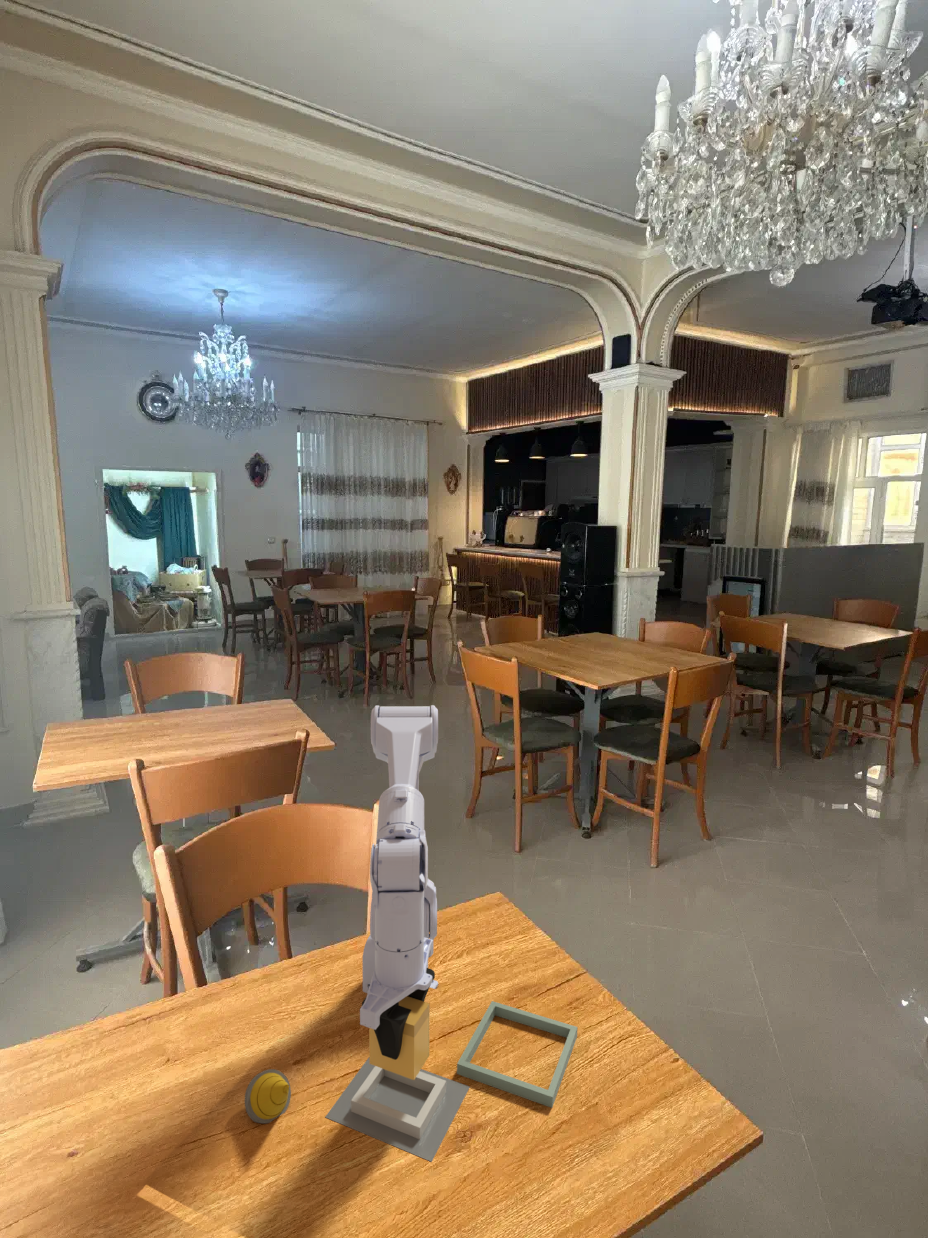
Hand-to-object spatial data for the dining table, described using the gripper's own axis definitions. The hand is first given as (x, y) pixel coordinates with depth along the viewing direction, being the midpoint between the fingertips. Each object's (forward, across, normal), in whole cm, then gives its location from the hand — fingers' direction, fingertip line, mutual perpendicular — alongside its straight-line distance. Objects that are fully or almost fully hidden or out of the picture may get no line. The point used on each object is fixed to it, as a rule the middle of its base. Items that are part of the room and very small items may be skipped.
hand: (399, 1041), depth 81 cm
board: (+9, 0, 0) cm, 9 cm away
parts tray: (+9, +13, -11) cm, 19 cm away
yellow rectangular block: (+2, 0, 0) cm, 2 cm away
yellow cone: (+9, -7, +13) cm, 17 cm away
